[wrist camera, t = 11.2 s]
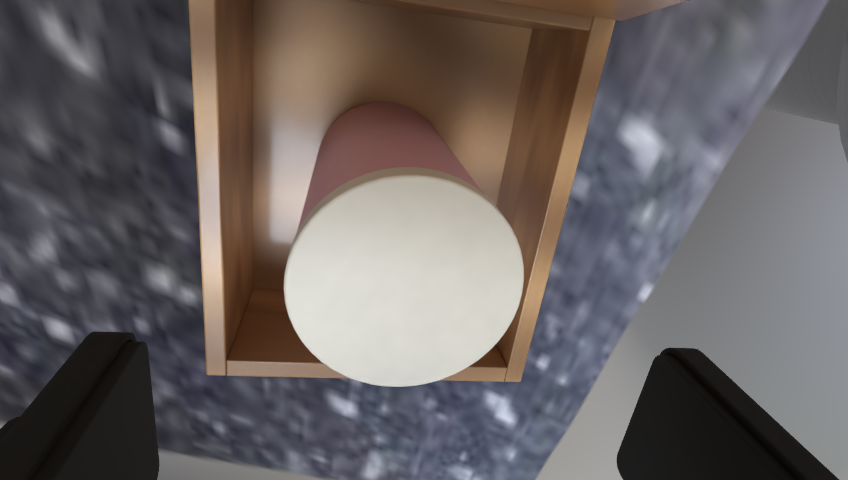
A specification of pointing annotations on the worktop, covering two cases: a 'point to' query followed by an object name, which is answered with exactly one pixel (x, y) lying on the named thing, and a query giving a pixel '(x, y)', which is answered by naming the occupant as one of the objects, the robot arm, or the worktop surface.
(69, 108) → the worktop surface
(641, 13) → the lid
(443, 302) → the tube
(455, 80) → the chest
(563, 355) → the worktop surface
